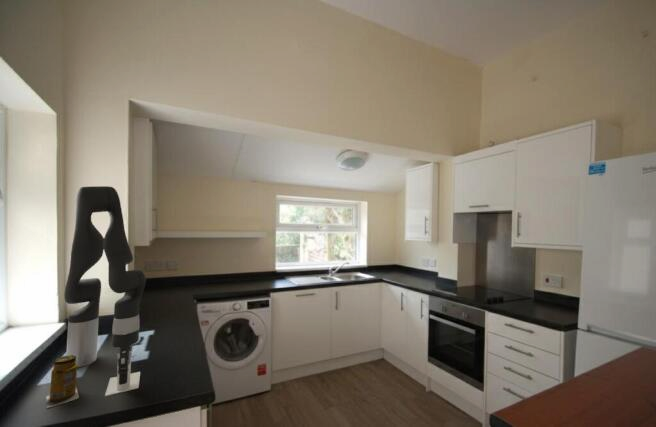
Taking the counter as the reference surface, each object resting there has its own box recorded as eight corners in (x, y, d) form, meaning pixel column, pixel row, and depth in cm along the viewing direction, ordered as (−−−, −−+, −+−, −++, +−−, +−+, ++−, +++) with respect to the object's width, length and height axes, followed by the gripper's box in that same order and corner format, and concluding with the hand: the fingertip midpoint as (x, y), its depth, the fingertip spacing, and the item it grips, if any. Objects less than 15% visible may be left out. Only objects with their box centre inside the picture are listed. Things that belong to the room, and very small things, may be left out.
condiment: (76, 387, 94) (78, 351, 94) (79, 398, 88) (81, 360, 88) (45, 397, 88) (48, 358, 89) (46, 409, 83) (49, 368, 83)
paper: (110, 378, 99) (110, 378, 99) (140, 372, 104) (140, 371, 104) (104, 396, 89) (104, 395, 89) (138, 388, 94) (138, 387, 94)
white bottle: (117, 386, 94) (118, 352, 95) (130, 383, 96) (132, 349, 97) (115, 392, 91) (117, 356, 92) (129, 388, 93) (131, 353, 93)
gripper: (115, 324, 99) (112, 374, 98) (109, 338, 87) (106, 395, 86) (140, 321, 102) (138, 368, 102) (138, 334, 90) (135, 387, 90)
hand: (123, 380), depth 94 cm, fingers closed on white bottle, 3 cm apart
